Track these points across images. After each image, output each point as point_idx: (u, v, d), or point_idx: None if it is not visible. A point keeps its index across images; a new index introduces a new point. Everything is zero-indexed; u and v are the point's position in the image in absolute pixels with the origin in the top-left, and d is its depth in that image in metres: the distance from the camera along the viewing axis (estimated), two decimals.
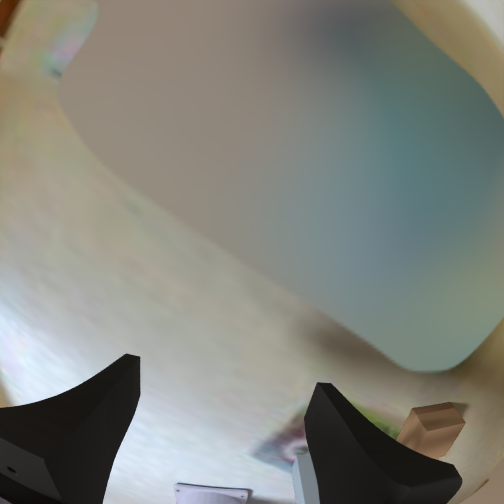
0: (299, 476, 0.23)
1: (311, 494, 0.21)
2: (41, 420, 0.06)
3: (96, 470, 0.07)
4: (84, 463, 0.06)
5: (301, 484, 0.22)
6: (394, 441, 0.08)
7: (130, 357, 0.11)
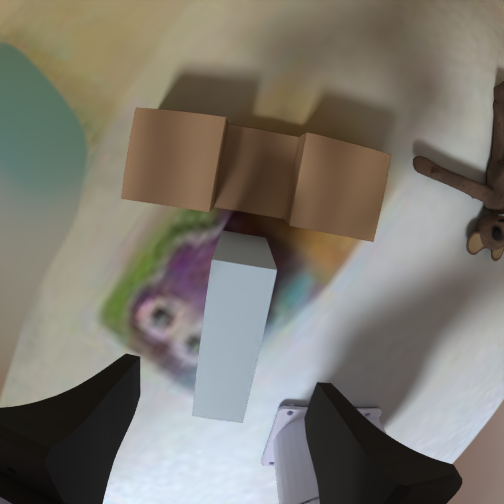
0: None
1: None
2: (41, 421, 0.06)
3: (96, 470, 0.07)
4: (84, 463, 0.06)
5: None
6: (394, 441, 0.08)
7: (130, 357, 0.11)
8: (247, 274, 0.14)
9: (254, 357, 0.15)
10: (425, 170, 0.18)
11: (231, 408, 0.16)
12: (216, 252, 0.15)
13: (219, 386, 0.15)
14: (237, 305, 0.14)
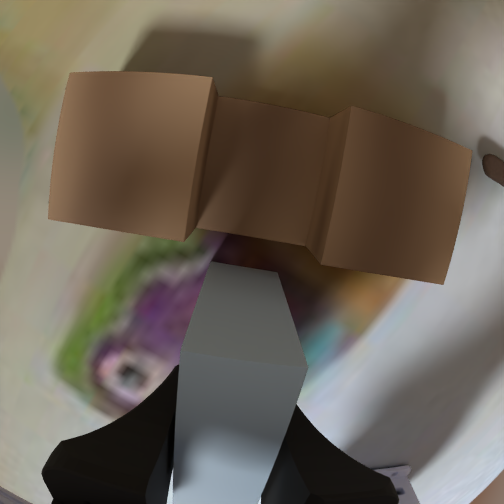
0: None
1: None
2: (120, 448, 0.06)
3: (164, 488, 0.07)
4: (161, 484, 0.06)
5: None
6: (330, 444, 0.07)
7: None
8: (250, 376, 0.07)
9: (261, 480, 0.08)
10: (497, 175, 0.11)
11: None
12: (192, 324, 0.08)
13: None
14: (232, 421, 0.07)
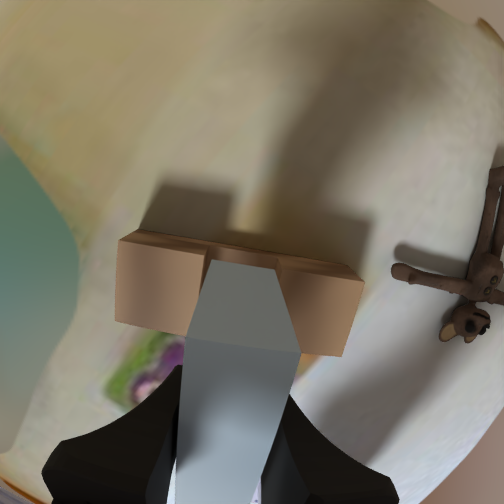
0: None
1: None
2: (120, 448, 0.06)
3: (164, 488, 0.07)
4: (161, 484, 0.06)
5: None
6: (330, 445, 0.07)
7: None
8: (249, 360, 0.07)
9: (259, 464, 0.08)
10: (402, 277, 0.20)
11: None
12: (196, 315, 0.09)
13: (209, 491, 0.09)
14: (232, 404, 0.08)
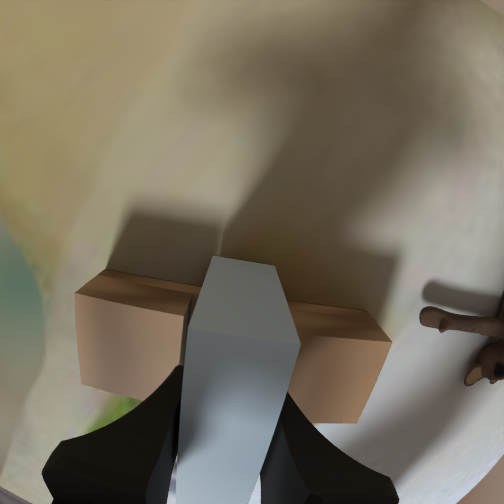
0: None
1: None
2: (120, 448, 0.06)
3: (164, 488, 0.07)
4: (161, 484, 0.06)
5: None
6: (330, 445, 0.07)
7: None
8: (250, 351, 0.08)
9: (260, 456, 0.09)
10: (432, 324, 0.15)
11: None
12: (198, 307, 0.09)
13: (210, 485, 0.09)
14: (233, 395, 0.08)
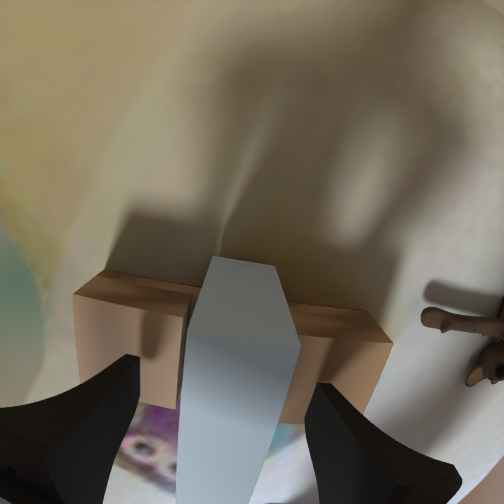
0: None
1: None
2: (41, 421, 0.06)
3: (96, 470, 0.07)
4: (84, 463, 0.06)
5: None
6: (394, 441, 0.08)
7: (130, 357, 0.11)
8: (249, 354, 0.08)
9: (260, 458, 0.09)
10: (433, 325, 0.15)
11: None
12: (197, 309, 0.09)
13: (210, 486, 0.09)
14: (232, 397, 0.08)
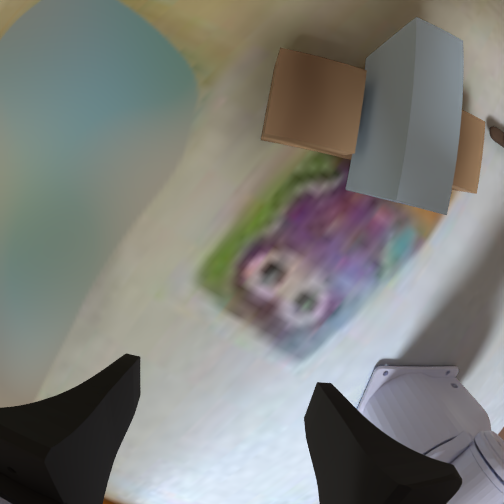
0: None
1: (381, 182, 0.14)
2: (41, 420, 0.06)
3: (96, 470, 0.07)
4: (84, 463, 0.06)
5: (370, 194, 0.15)
6: (394, 441, 0.08)
7: (130, 357, 0.11)
8: (444, 36, 0.10)
9: (458, 118, 0.11)
10: (499, 138, 0.18)
11: (438, 188, 0.12)
12: (406, 26, 0.11)
13: (429, 153, 0.12)
14: (440, 59, 0.11)
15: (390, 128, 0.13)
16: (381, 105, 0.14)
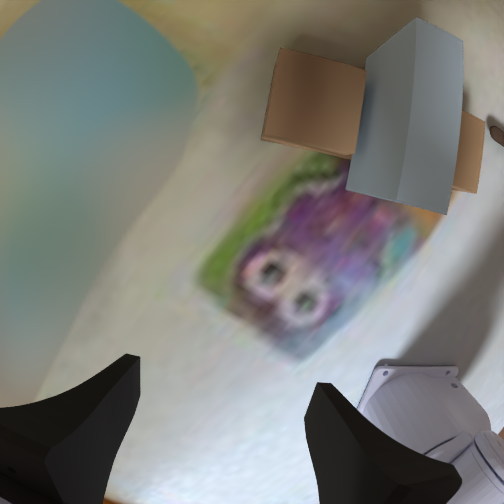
0: None
1: (381, 182, 0.14)
2: (41, 420, 0.06)
3: (96, 470, 0.07)
4: (84, 463, 0.06)
5: (370, 194, 0.15)
6: (394, 441, 0.08)
7: (130, 357, 0.11)
8: (444, 36, 0.10)
9: (458, 118, 0.11)
10: (499, 138, 0.18)
11: (438, 188, 0.12)
12: (406, 26, 0.11)
13: (429, 153, 0.12)
14: (440, 59, 0.11)
15: (390, 128, 0.13)
16: (381, 105, 0.14)
